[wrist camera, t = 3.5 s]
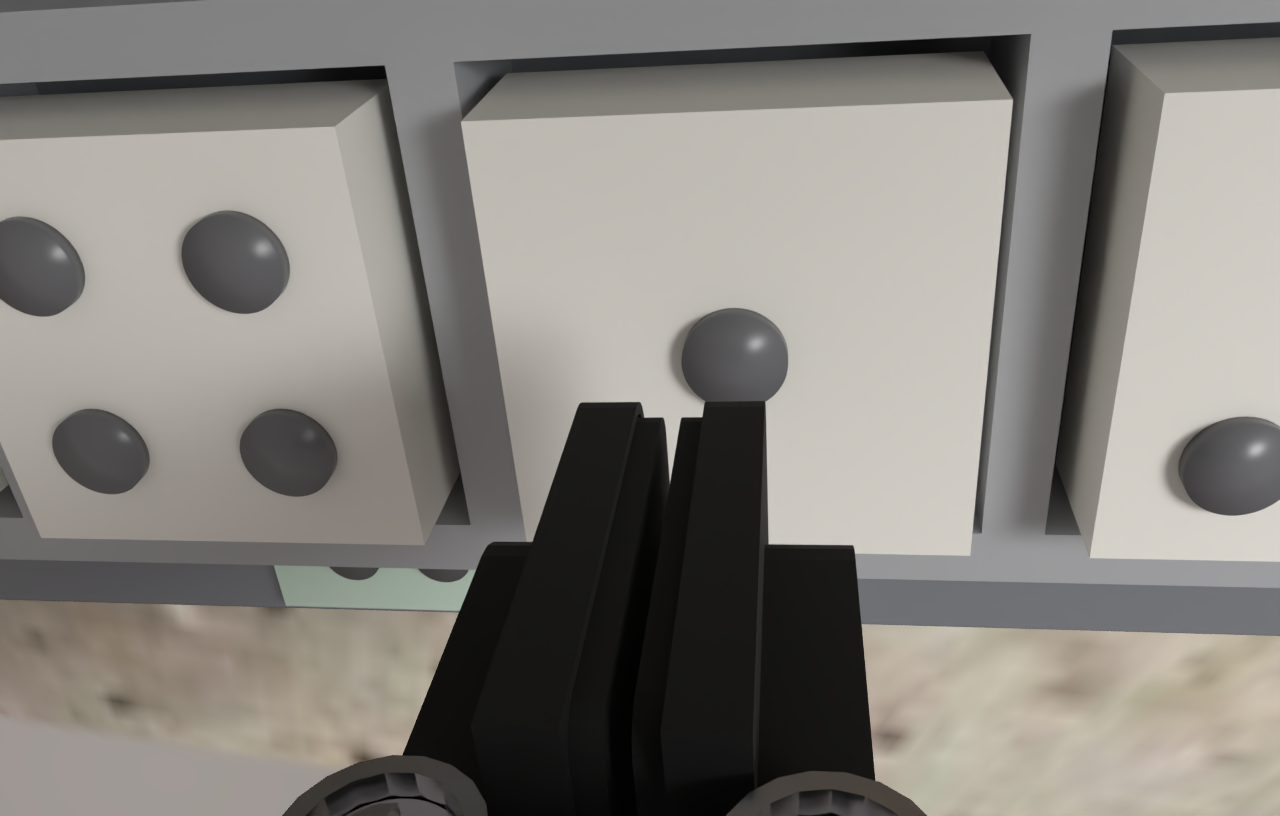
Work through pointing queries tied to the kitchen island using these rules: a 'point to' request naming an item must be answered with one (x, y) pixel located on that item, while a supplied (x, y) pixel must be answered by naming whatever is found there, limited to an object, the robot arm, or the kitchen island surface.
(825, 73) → the key one dot
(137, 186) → the key four dots
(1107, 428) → the key three dots
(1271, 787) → the kitchen island surface
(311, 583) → the keypad
